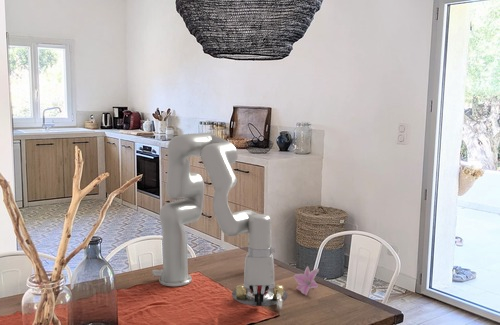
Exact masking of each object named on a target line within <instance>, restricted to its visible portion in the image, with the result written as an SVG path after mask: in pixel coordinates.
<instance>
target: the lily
mask: <svg viewBox="0 0 500 325" xmlns="http://www.w3.org/2000/svg"><path fill="white" fill-rule="evenodd" d="M319 270H320V268H315V269H312V270H310V267H309V265H307V266H306V268H305V270H304V273H296V274H294V275H293V278H294V280H295V281H296V283H297V284H298V285H297V286H296V288H295V289H296V290H298V291H300V293H301V294H303V295H305V296H308V293H309V290H310V289H316V288H319V285H318V283H317V282H316V280H315V278H316V277H317V274H318V273H319Z"/></svg>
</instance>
